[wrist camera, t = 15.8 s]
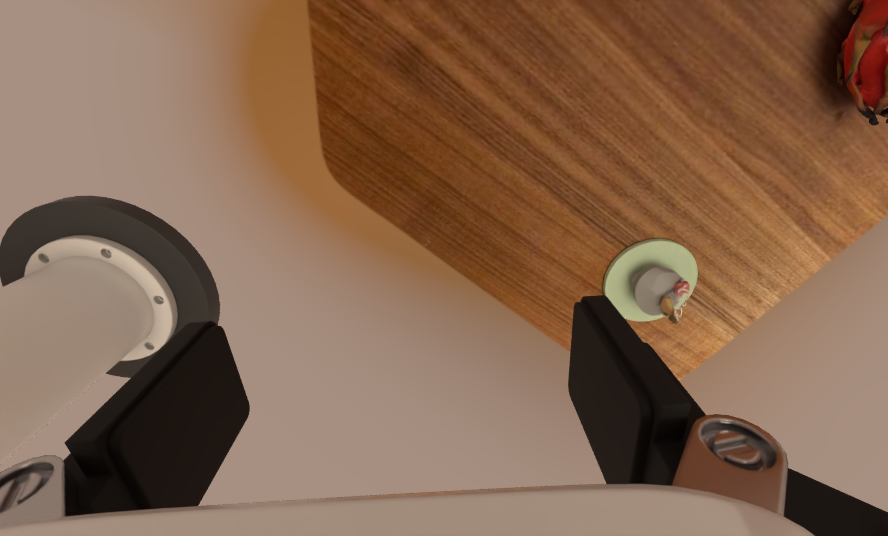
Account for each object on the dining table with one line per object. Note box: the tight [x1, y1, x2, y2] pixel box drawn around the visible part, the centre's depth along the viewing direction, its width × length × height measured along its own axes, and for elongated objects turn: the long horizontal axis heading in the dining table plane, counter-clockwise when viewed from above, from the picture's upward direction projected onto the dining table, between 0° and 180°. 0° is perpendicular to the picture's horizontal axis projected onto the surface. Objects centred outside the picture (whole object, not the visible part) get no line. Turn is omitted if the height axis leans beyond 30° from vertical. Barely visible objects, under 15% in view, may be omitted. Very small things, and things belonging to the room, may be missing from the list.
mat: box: [603, 239, 698, 321], centre depth 38 cm, size 8×8×1 cm
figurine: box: [632, 265, 692, 324], centre depth 35 cm, size 5×4×6 cm
